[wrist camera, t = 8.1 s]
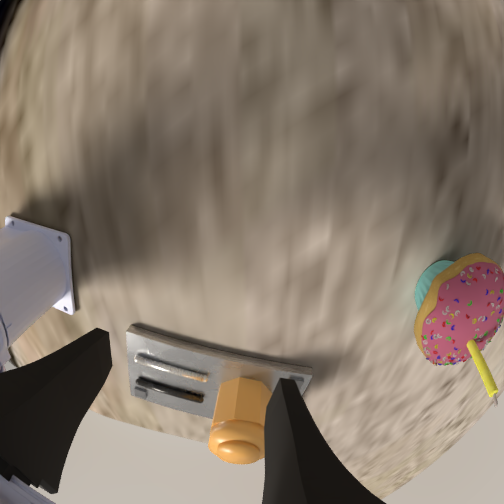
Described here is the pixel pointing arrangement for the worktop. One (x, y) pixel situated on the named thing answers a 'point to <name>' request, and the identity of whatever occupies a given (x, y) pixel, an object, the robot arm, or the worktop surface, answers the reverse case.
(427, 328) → the cupcake
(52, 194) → the worktop surface
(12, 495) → the robot arm
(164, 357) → the plate
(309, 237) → the worktop surface
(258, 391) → the acorn cap nut
